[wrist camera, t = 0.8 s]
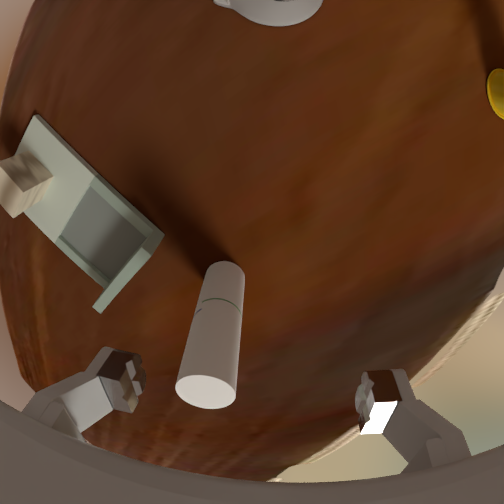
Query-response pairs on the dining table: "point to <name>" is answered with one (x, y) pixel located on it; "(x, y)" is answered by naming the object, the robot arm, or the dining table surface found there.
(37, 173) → the birch block
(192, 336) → the cylindrical container
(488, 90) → the stacking cups
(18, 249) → the dining table surface
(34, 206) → the board
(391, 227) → the dining table surface
